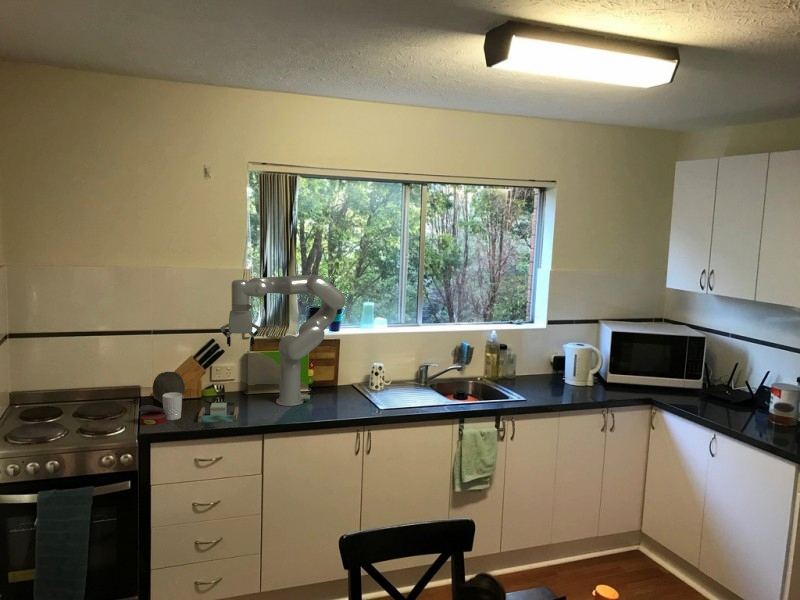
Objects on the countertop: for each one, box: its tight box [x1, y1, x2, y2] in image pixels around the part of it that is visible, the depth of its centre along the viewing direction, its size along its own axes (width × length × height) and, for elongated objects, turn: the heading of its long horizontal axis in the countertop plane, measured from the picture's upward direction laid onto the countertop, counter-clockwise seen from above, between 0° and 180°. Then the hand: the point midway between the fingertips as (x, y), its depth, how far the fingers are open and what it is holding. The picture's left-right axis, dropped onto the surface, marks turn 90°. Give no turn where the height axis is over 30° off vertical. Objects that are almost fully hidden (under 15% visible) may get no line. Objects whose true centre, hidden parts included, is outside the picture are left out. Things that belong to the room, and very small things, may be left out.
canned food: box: [138, 404, 166, 427], centre depth 266 cm, size 11×10×10 cm
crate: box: [209, 402, 228, 416], centre depth 273 cm, size 6×6×6 cm
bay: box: [197, 406, 239, 423], centre depth 275 cm, size 15×13×2 cm
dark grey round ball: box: [152, 371, 186, 405], centre depth 290 cm, size 14×14×15 cm
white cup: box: [162, 392, 183, 421], centre depth 272 cm, size 8×8×10 cm
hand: (240, 345), depth 287 cm, fingers open, 9 cm apart
